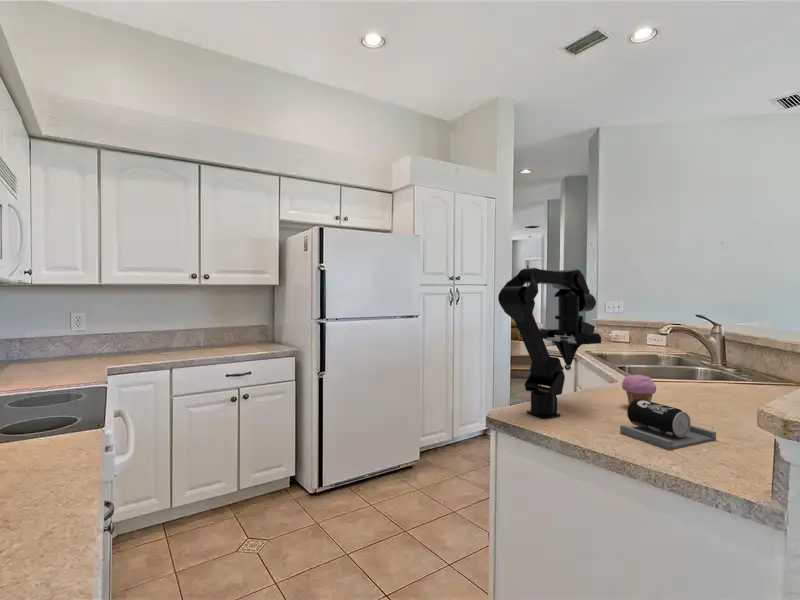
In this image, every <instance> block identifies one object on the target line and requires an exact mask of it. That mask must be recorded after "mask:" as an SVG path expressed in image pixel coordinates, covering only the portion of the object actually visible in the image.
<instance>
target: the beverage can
mask: <svg viewBox="0 0 800 600" xmlns="http://www.w3.org/2000/svg"><path fill="white" fill-rule="evenodd" d="M626 412H627V413H626V415H627V419H629V422H630V423H631V424H632V425H634V426H637V427H643V428H646V429H649V430H652V431H655V432H659V433H662V434H665V435H668V436H671V437H684V436H686V435H687V433H688V432H689V429H690V425H691V424H692V423H691V418H690V416H689V414H688V413H687V412H685V411H683V410H682V409H680V408H677V407H672V406H669V405H664V404H661V403H657V402H653V401H651V402H650V401H646V400H642V399H636V400H634V401H632V402H631V403H630V405H629V404H628V407H627V411H626Z"/></svg>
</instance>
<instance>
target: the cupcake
mask: <svg viewBox="0 0 800 600" xmlns="http://www.w3.org/2000/svg"><path fill="white" fill-rule="evenodd" d="M621 388H622V390H623V391H625V393H626V396H627V402H628V406H629V405H630V403H631V402H632V401H634V400H636V399H642V400H646V401H650V402H652V399H653V395H654V394H655V393H656V392H657V386H656V384H655V382H654V381H653V380H652V378H651V377H650V376H647V375H643V374H632V375H627V376H625V377H624V379H623V380H622V384H621Z"/></svg>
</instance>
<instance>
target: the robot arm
mask: <svg viewBox="0 0 800 600" xmlns="http://www.w3.org/2000/svg"><path fill="white" fill-rule="evenodd" d="M525 284H528V286H526V285H525ZM539 285H548V286H549V285H550V286H552V287H553V288H554V289H556V290H558V291H557V292H555V293H554V298H558V299H557V300H558V301H557V303H558V305H557V307H558V309H557V311H558V314H557V315H555V316H554V319H555V320H557V321H558V323H557V324H558V325H557V327H558V328H542V329H541V330H540V329H539V326H538V324H537V321H536V319H535V317H534V316H535V315H534V314H533V313H534V309H535V306H536V302H535V298H536V296H538V294H539ZM590 291H591V290H590V289H589V287H588V284H587V282H586V279H585V276H584V274H583V273H582V271H581V270H580V269H566V270H565V269H564V270H550V269H549V270H548V269H540V268H538V267H529V268H523V269H521V270H520V271H519V272H518V273H517V274H516V275H515V276H514V277H512V278H510V280H508V281H507V282H506V283H505V285H504V286H503V287H501V289H500V291H499V293H498V296H497V297H498V298H497V300H498V303H499V306H500V307H501V308H502V310H503V312H504V313H505V314H506V315H508V316H509V317H510V318H511V320H513V321H514V322H515V325H516V327H517V330H518V332H519V335H520V337H521V339H522V341H523V344H524V346H525V348H526V349H525V350H526V351H527V353H528V356H529V358H530V361H531V365H530V368H529V373H530V374H529V375H528V377H527V379H526V381H525V383H524V388H525V391H526V392H530V410H527V411H526V413H527V414H530V415H533V416H535V417H537V418H539V419H549V418H556V417H560V416H561V413H558V398H557V396H560V395H562V394H563V388H564V384H565V379H566V376H565V372H564V369H565V367H563V366H562V363H561V360H560V358H559V357H557V356H551V355H550V354H549V352H548V351H549V350H548V348H547V346H546V343H545V341H544V339H545V340H547V339H548V338H549V339H550V338H554V340H553V341H552V343H554V344H555V346H556V348H557V350H558V351H559V353H560V355H561V358H562V359H563V361H564V364H565V366H571V365H572V363H573V361H574V357H575V356H576V353H577V351H578V348H580V347H581V346H582V345H594V344H595V345H597V344H599V345H600V344H602V335H600V333H597V332H595V328H596V326H595V325H593V324H591V323H588V322H585V321H584V317H583V315H580V313H584V312H592V311H593V310H594V309H595V308H596V305H597V300H596V298H595V296H594V295H593V294H592V293H590Z"/></svg>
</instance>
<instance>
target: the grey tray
mask: <svg viewBox="0 0 800 600" xmlns="http://www.w3.org/2000/svg"><path fill="white" fill-rule="evenodd" d="M619 433H620V434H621V435H624V436H627V437H630V438H633V439H636V440H638V441H641V442H644V443H647V444H650V445H653V446H656V447H658V448H662V449H665V450H667V451H671V450H676V449H681V448H686V447H691V446H695V445H700V444H703V443H707V442H713V441H717V432H716V431H714V430H709V429H706V428H702V427H699V426H695V425H690V429H689V432H688V433H687V435H686V436H684V437H671V436H668V435H665V434H662V433H659V432H655V431H652V430H649V429H646V428H643V427H640V426H637V427H634V428H633V427H632V426H631V427H630V426H627V425H624V424H622V425H620V426H619Z"/></svg>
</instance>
